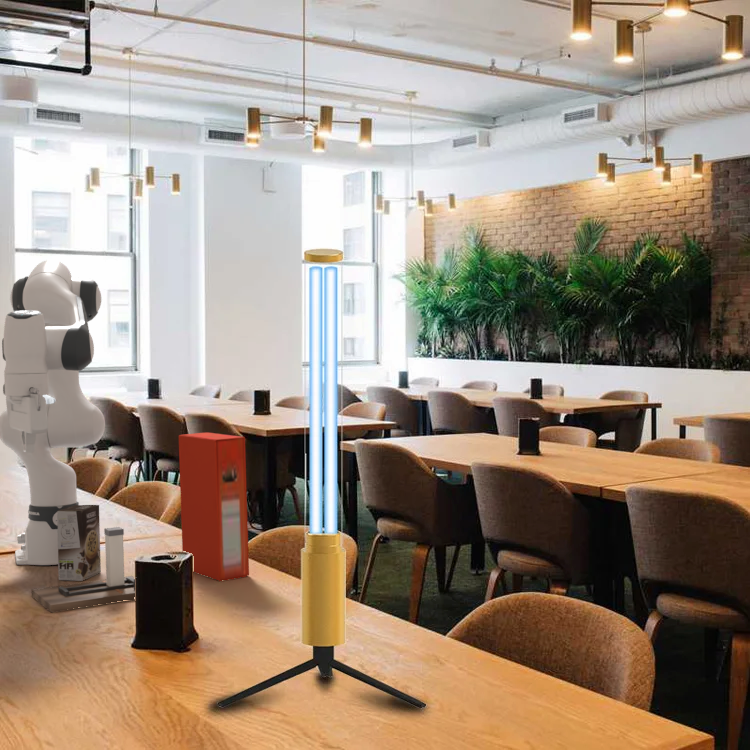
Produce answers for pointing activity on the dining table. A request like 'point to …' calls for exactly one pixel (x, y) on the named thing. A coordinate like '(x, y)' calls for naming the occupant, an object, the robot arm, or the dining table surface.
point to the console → (84, 594)
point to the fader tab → (114, 556)
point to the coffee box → (78, 542)
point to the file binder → (214, 504)
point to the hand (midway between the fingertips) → (28, 452)
